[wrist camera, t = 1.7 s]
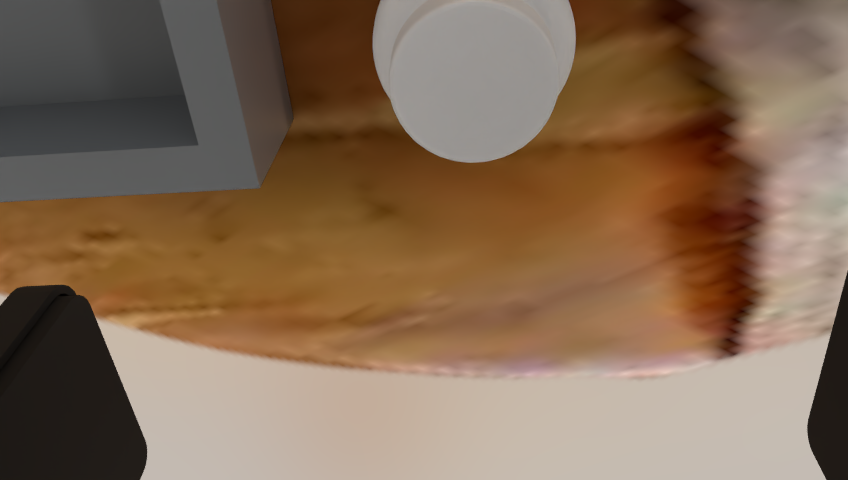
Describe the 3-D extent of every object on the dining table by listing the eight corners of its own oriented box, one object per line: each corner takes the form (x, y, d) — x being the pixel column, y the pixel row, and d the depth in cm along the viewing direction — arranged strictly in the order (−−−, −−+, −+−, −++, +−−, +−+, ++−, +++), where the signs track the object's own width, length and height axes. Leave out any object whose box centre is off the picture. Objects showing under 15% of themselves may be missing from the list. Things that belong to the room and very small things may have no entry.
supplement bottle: (480, 89, 27) (485, 228, 19) (361, -5, 26) (312, 103, 18) (585, -29, 25) (642, 72, 17) (461, -141, 23) (458, -90, 15)
